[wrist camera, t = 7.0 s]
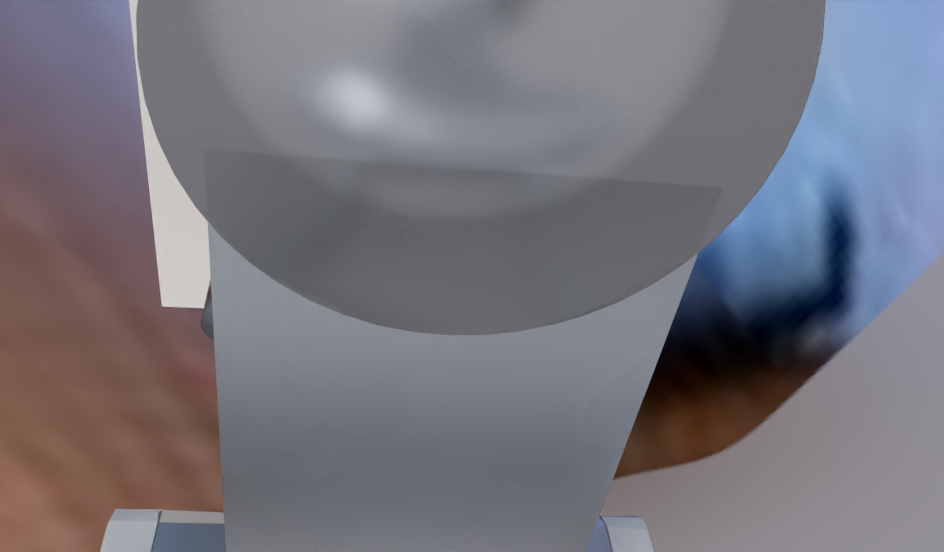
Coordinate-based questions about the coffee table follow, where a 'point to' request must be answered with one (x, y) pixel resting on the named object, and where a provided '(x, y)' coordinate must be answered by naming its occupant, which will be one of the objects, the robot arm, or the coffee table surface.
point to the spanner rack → (175, 225)
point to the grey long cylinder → (455, 242)
